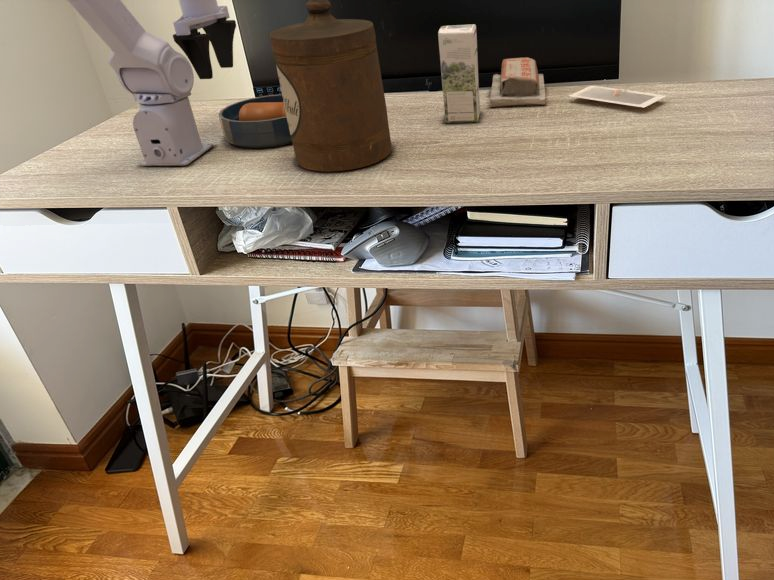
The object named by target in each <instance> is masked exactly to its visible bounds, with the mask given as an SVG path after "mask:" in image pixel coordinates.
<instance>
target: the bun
mask: <svg viewBox="0 0 774 580" xmlns="http://www.w3.org/2000/svg"><path fill="white" fill-rule="evenodd" d="M281 117H286V112H285V108H284V103H283V102H266V103H248V104H245V105H244V106H242V108H241V109H240V111H239V120H240V121H261V120H270V119H275V118H281Z"/></svg>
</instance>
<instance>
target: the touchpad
mask: <svg viewBox="0 0 774 580" xmlns="http://www.w3.org/2000/svg"><path fill="white" fill-rule="evenodd" d="M568 97H572V98H579V99H584V100H590V101H591V100H592V101H598V102H604V103H611V104H616V105H624V106H630V107H636V108H644V109H645V108H647V107H649V106H651V105H652V104H654V103H657V102H658V101H660V100H662V99H664V98H666V97H667V95H664V94H657V93H650V92H643V91H636V90H635V91H634V90H628V89H621V88H614V87H605V86H600V85H593V84H592V85H589V86H587V87H585V88H582V89H581V90H578V91H576V92H573V93H571V94H569V95H568Z"/></svg>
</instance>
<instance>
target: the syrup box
mask: <svg viewBox="0 0 774 580" xmlns="http://www.w3.org/2000/svg"><path fill="white" fill-rule="evenodd" d="M437 37H438V39H437V40H438V49H439V61H440V73H441V75H440V76H441V85H442V86H441V87H442V99H443V110H444V111H443V112H444V121H445V122H444V123H445V124H458V123H460V124H461V123H478V122H479V118H480V114H481V100H480V87H479V86H480V83H479V61H478V60H479V59H478V39H477V38H478V36H477V25H476V23H475V24H474V23H473V24H456V25H455V24H454V25H453V24H452V25H441V26H440V28H439V30H438V32H437Z"/></svg>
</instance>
